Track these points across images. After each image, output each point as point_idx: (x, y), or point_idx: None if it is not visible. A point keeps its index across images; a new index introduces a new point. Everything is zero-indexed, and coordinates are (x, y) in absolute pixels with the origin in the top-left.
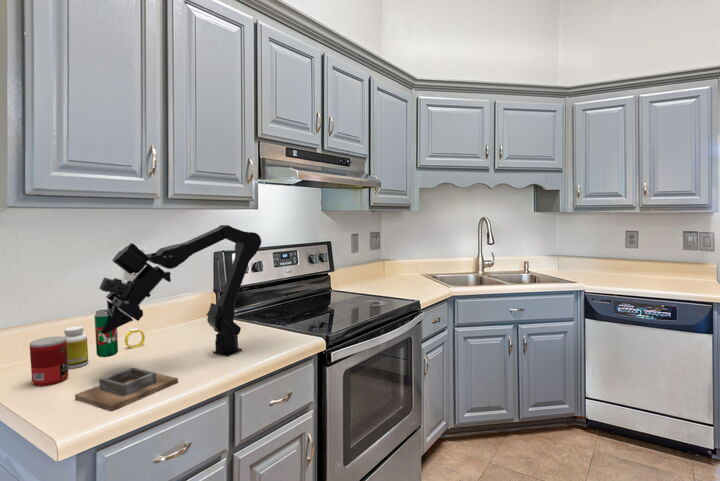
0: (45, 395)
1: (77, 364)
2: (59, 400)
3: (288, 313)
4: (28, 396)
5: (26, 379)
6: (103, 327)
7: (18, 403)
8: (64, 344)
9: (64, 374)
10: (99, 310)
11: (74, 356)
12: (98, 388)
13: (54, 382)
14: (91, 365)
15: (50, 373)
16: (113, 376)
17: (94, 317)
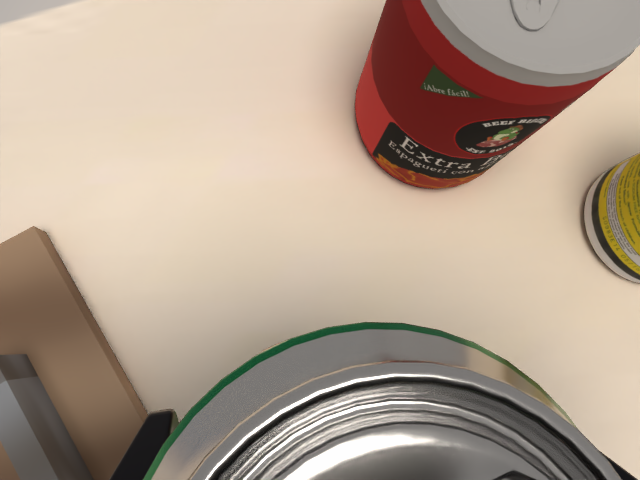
0: (208, 103)
1: (594, 228)
2: (86, 163)
3: None
4: (243, 38)
5: None
6: (141, 468)
7: (169, 7)
8: (479, 83)
9: (393, 165)
10: (584, 464)
11: (629, 201)
12: (50, 346)
13: (359, 130)
14: (596, 303)
15: (365, 89)
16: (5, 448)
17: (356, 324)
